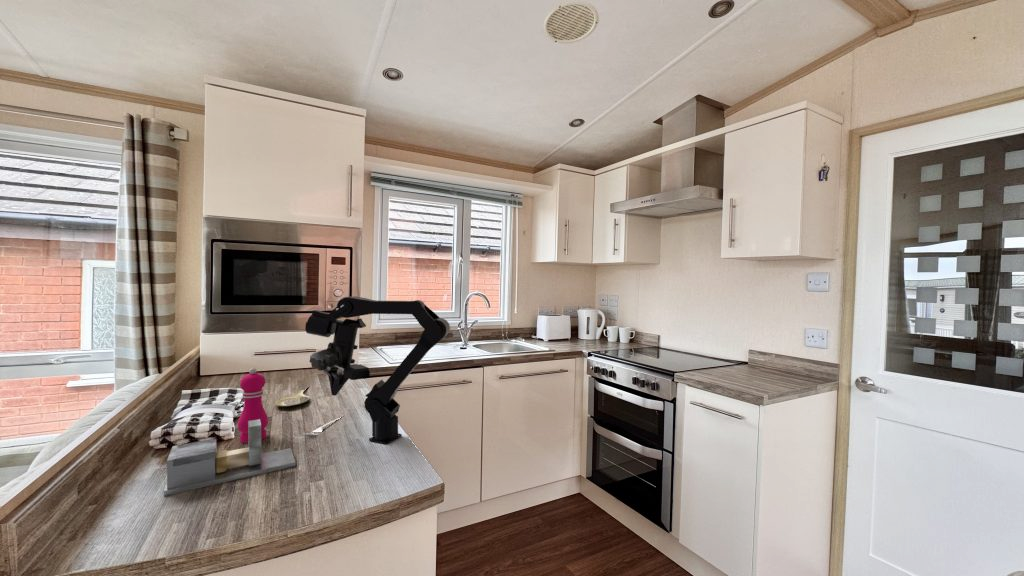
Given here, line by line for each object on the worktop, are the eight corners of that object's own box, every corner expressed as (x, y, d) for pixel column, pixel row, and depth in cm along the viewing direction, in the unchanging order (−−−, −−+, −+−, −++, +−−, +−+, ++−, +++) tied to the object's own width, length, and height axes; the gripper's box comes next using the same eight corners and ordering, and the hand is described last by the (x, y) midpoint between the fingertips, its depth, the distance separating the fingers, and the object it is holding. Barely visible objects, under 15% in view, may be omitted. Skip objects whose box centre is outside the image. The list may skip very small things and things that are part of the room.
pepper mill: (253, 444, 109) (253, 371, 109) (231, 442, 111) (230, 370, 110) (274, 435, 116) (273, 365, 116) (253, 433, 118) (252, 364, 118)
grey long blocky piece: (290, 451, 105) (290, 424, 105) (295, 466, 97) (295, 437, 96) (170, 476, 91) (169, 445, 91) (163, 496, 83) (163, 462, 83)
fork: (349, 418, 133) (349, 412, 133) (312, 439, 114) (312, 433, 114) (339, 417, 134) (339, 412, 134) (301, 439, 114) (301, 432, 114)
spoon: (292, 391, 170) (292, 386, 170) (320, 389, 173) (320, 384, 173) (269, 411, 137) (269, 405, 137) (304, 408, 140) (304, 402, 140)
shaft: (260, 456, 99) (260, 419, 99) (261, 464, 95) (261, 425, 95) (179, 473, 90) (178, 432, 90) (176, 482, 86) (176, 439, 86)
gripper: (297, 333, 111) (286, 389, 111) (342, 350, 102) (330, 411, 102) (332, 332, 120) (322, 384, 121) (376, 348, 112) (365, 403, 112)
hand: (334, 395), depth 114 cm, fingers closed
